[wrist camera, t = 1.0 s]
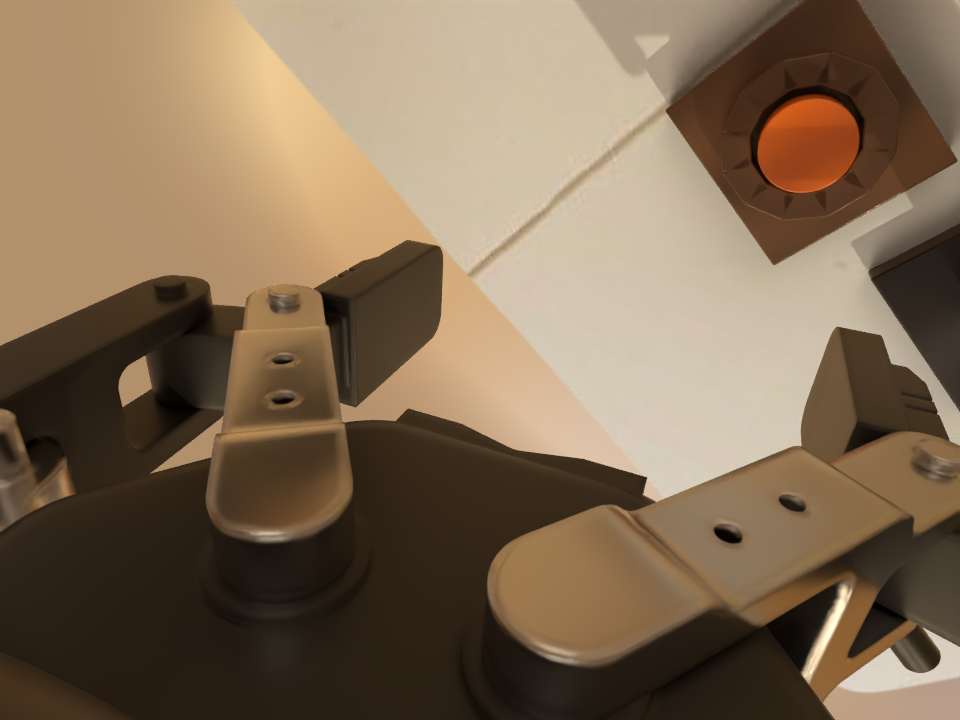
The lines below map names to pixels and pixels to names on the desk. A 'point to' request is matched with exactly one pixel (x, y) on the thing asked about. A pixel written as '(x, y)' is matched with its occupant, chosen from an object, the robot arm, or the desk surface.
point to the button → (807, 143)
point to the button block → (798, 71)
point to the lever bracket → (928, 302)
